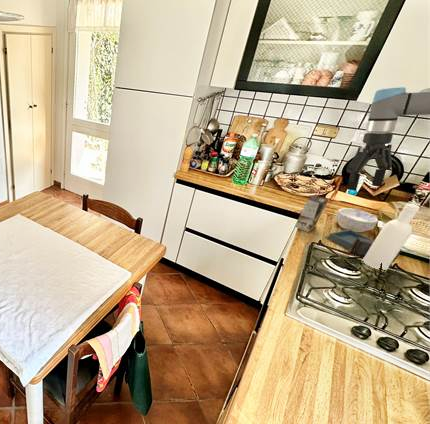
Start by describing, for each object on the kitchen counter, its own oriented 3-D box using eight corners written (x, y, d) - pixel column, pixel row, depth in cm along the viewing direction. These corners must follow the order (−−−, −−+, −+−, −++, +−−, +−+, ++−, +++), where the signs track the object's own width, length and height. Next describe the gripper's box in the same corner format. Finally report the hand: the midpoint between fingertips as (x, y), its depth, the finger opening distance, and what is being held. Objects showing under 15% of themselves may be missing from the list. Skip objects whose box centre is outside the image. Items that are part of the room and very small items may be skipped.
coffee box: (308, 232, 153) (323, 204, 146) (294, 227, 158) (307, 199, 150) (315, 227, 158) (329, 199, 150) (301, 221, 163) (314, 194, 155)
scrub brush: (388, 264, 132) (400, 247, 127) (391, 268, 129) (403, 251, 125) (347, 253, 138) (357, 236, 134) (348, 257, 136) (358, 240, 131)
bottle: (383, 276, 124) (427, 212, 110) (357, 267, 130) (397, 204, 115) (386, 268, 129) (429, 206, 114) (361, 259, 134) (400, 198, 120)
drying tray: (379, 249, 141) (382, 244, 140) (358, 254, 138) (361, 249, 136) (346, 234, 153) (349, 229, 151) (327, 238, 149) (330, 233, 148)
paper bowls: (325, 223, 161) (332, 210, 158) (341, 218, 167) (348, 205, 163) (360, 238, 149) (369, 224, 146) (376, 231, 155) (384, 218, 151)
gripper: (389, 129, 120) (375, 182, 126) (342, 134, 114) (329, 189, 120) (415, 130, 113) (398, 186, 119) (366, 135, 107) (351, 193, 114)
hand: (364, 188), depth 120 cm, fingers open, 13 cm apart
